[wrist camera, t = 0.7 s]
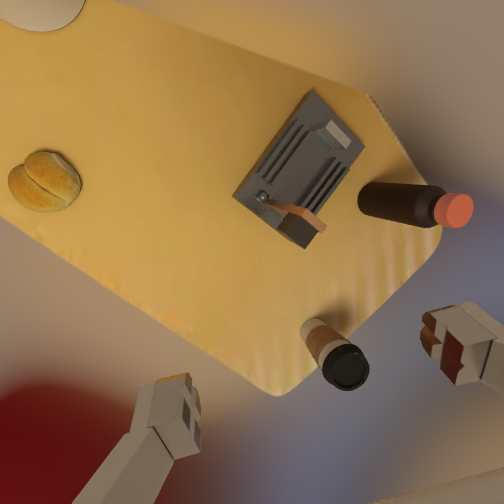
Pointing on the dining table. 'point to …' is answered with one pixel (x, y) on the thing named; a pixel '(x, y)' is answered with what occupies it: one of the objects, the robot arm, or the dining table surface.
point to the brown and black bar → (297, 222)
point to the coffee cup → (335, 355)
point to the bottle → (415, 204)
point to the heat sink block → (300, 162)
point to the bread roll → (44, 183)
